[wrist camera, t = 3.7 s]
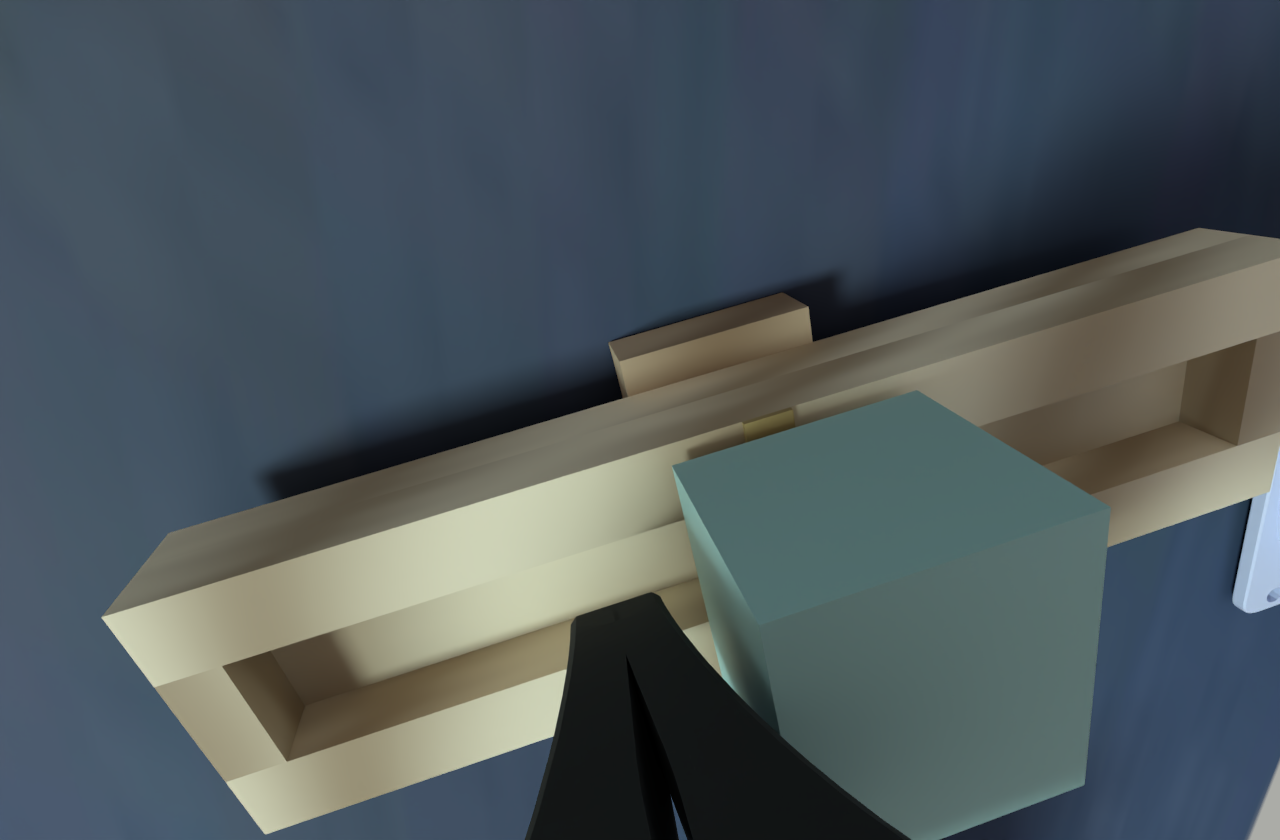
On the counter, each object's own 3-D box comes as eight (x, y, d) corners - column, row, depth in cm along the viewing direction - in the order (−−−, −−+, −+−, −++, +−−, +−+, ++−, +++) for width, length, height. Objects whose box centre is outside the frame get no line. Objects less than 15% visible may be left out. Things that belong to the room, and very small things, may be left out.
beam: (1148, 186, 14) (1338, 203, 11) (1122, 449, 17) (1268, 522, 14) (176, 466, 12) (68, 582, 9) (325, 709, 15) (281, 864, 12)
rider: (876, 365, 11) (1111, 507, 7) (893, 575, 13) (1084, 784, 9) (653, 433, 11) (758, 624, 7) (704, 637, 13) (810, 888, 9)
